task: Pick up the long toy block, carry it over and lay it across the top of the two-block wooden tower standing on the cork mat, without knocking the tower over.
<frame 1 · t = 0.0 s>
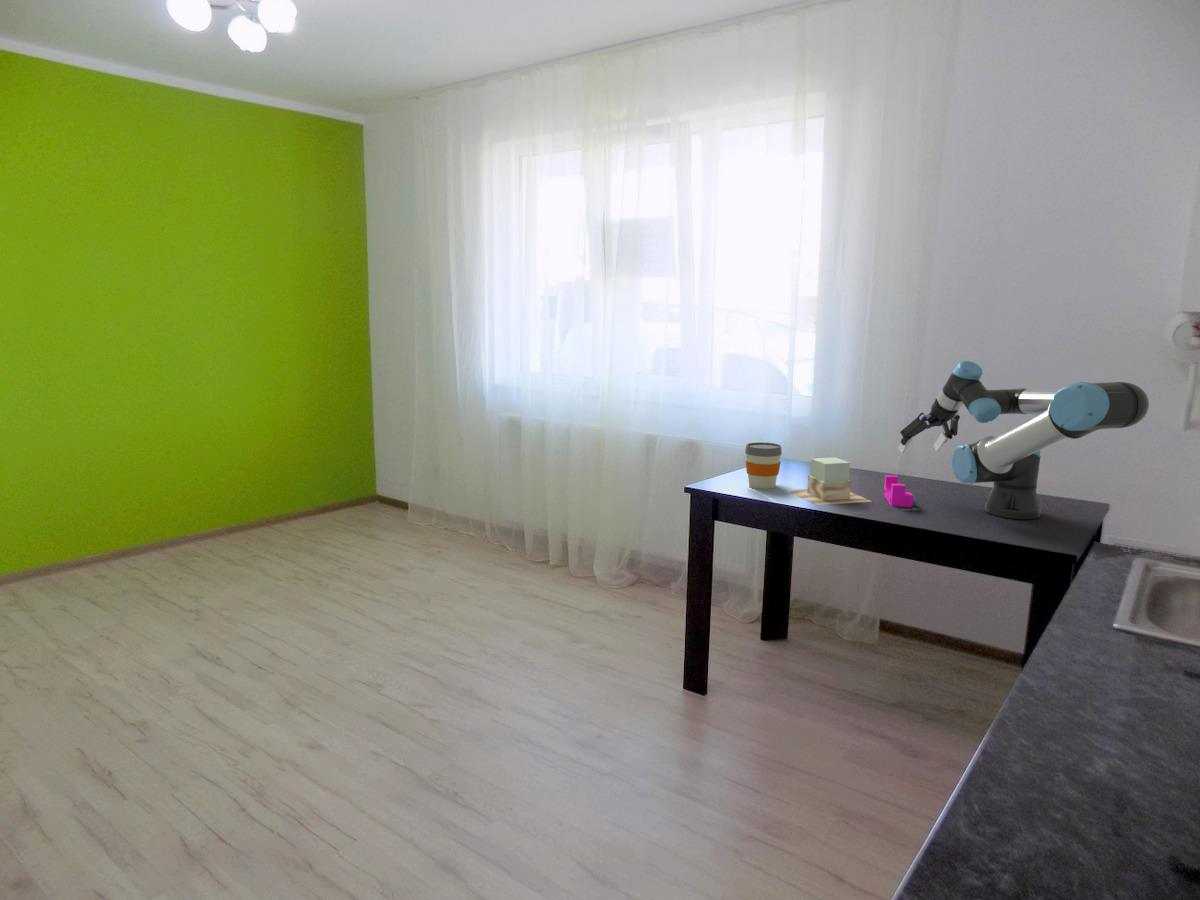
hand: (918, 449, 254), 15 cm above the table, tool tilted 35°, fingers open, 13 cm apart
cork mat: (828, 497, 252), on the table
tower base: (828, 495, 252), point 1 cm above the table, touching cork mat, tower top
toy block: (897, 503, 246), on the table
reusable coffee cup: (761, 487, 267), on the table
tower top: (829, 478, 251), point 7 cm above the table, touching tower base
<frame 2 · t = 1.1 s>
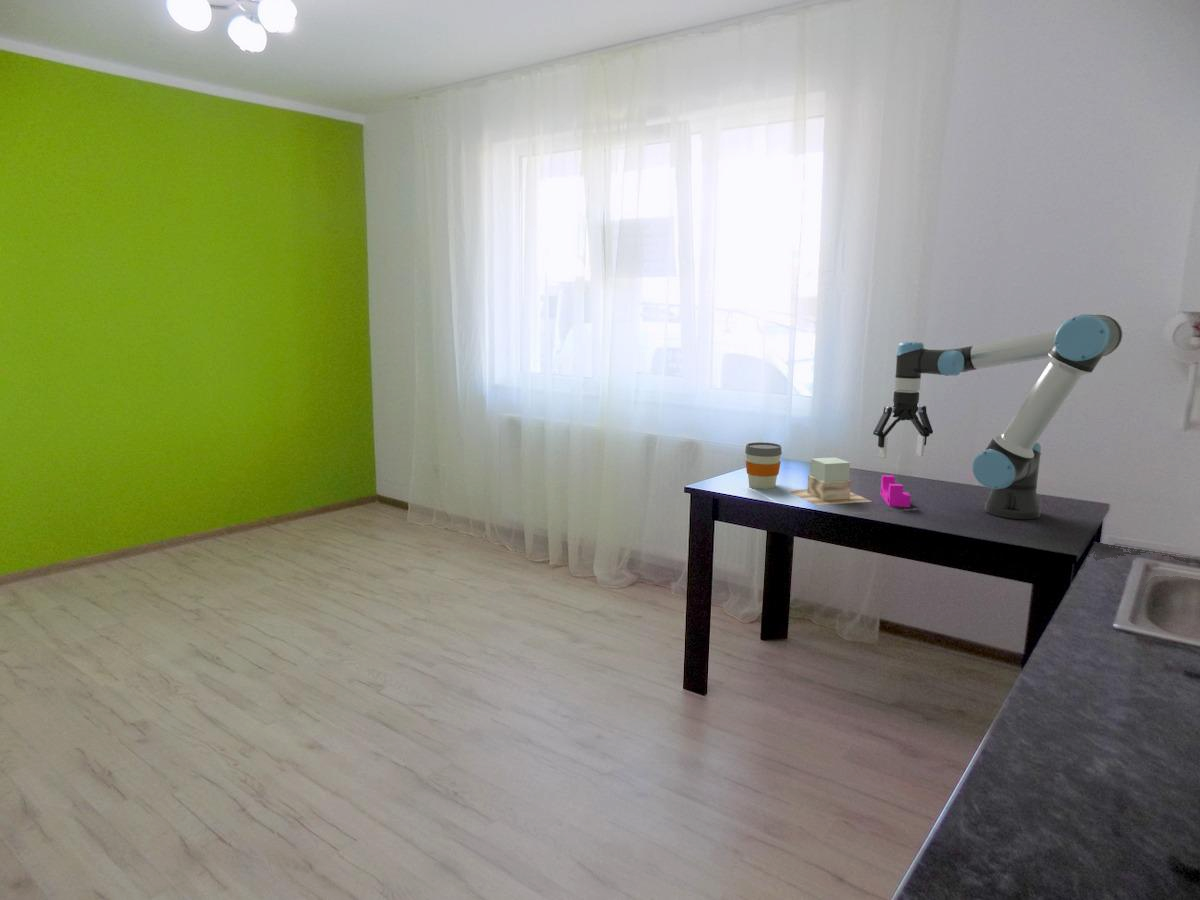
hand: (901, 456, 243), 15 cm above the table, tool pointing down, fingers open, 13 cm apart
toy block: (894, 503, 246), on the table
everything else where it was.
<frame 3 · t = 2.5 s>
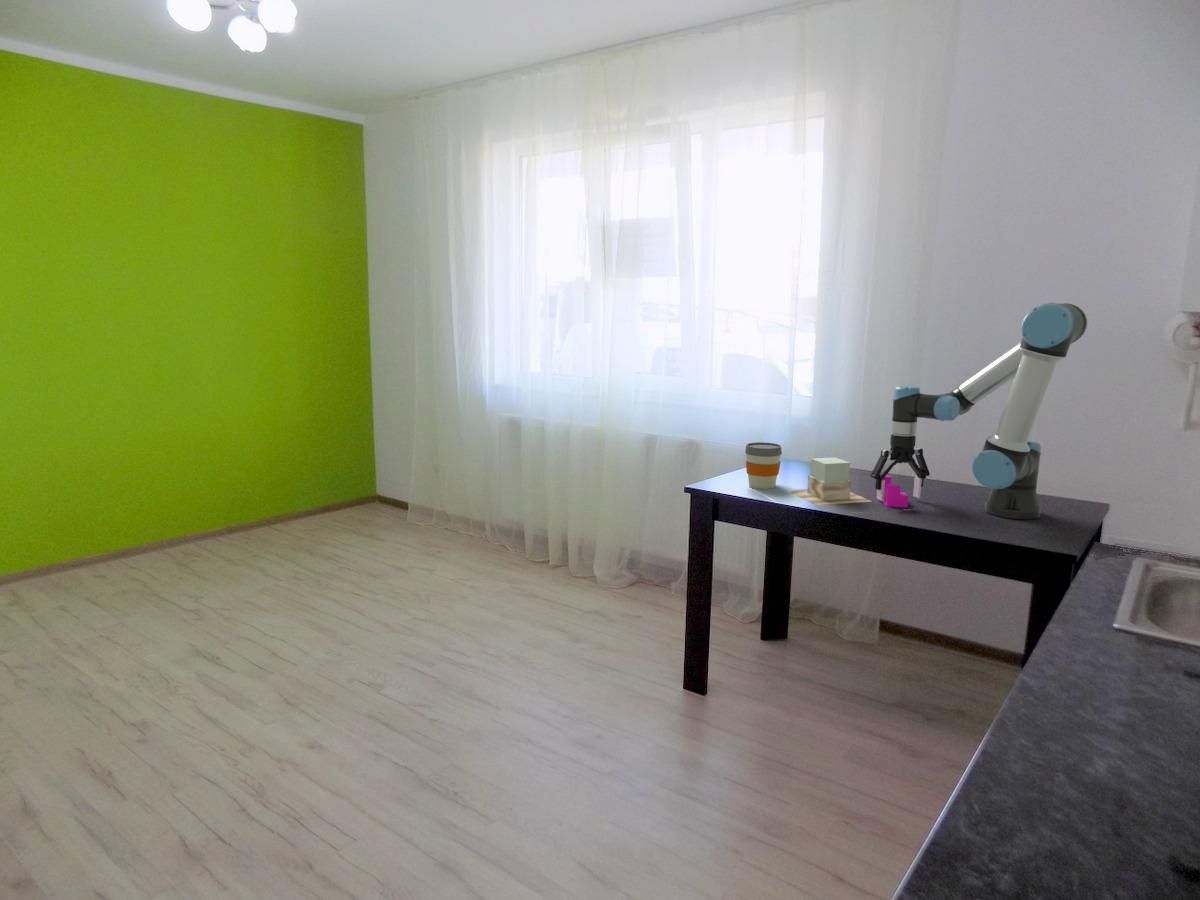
hand: (898, 498, 246), 1 cm above the table, tool pointing down, fingers open, 13 cm apart
toy block: (891, 503, 245), on the table
everything else where it was.
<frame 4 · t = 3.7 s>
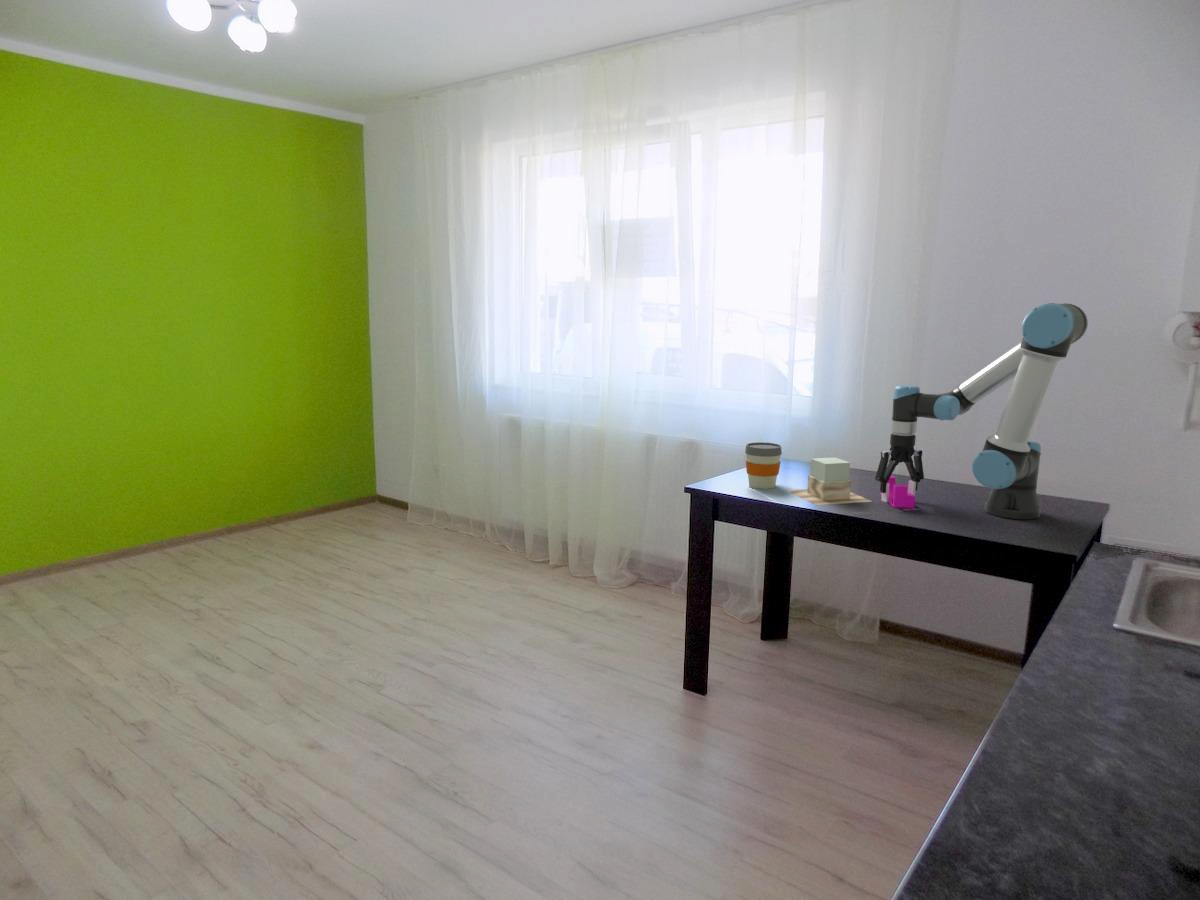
hand: (897, 501, 246), 0 cm above the table, tool pointing down, fingers open, 9 cm apart
toy block: (896, 504, 245), on the table, touching gripper
everything else where it was.
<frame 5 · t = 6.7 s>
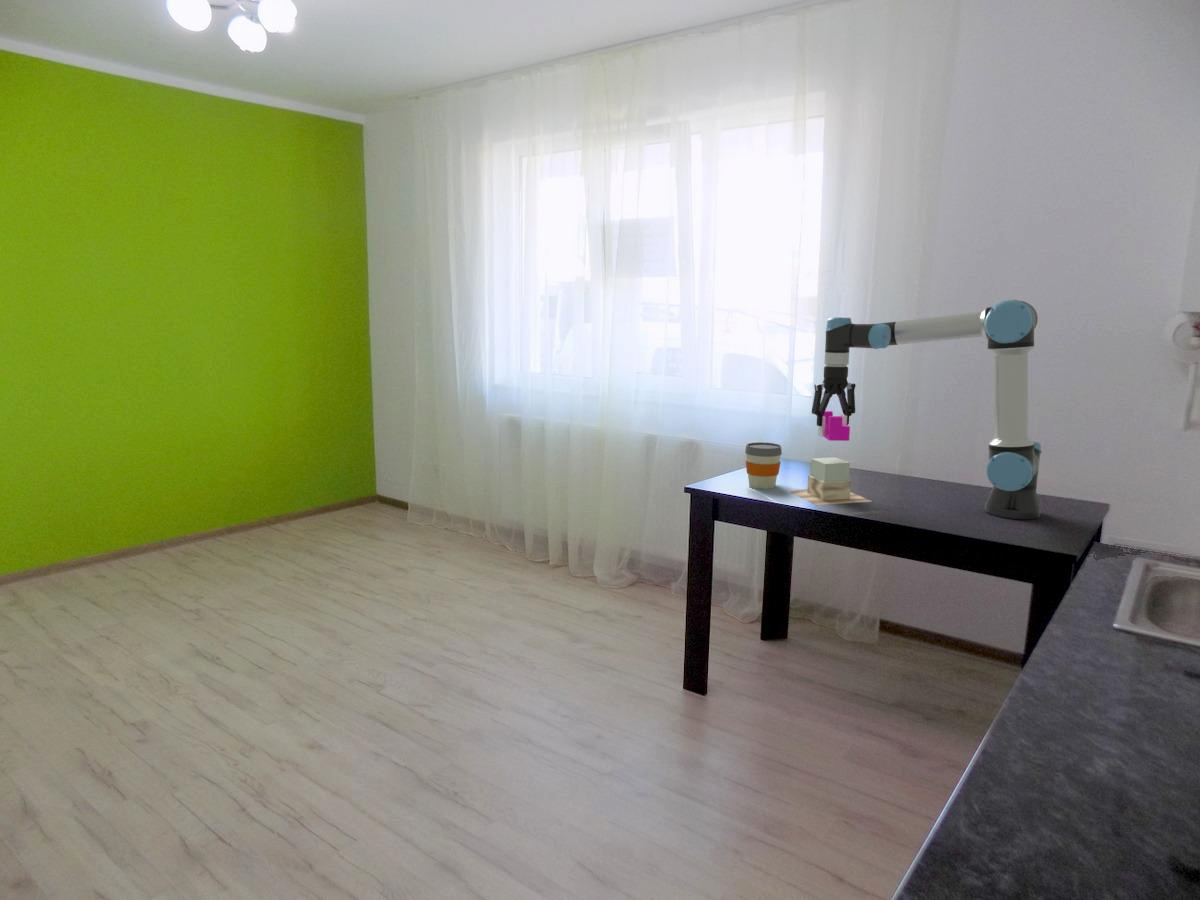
hand: (832, 435, 248), 21 cm above the table, tool pointing down, fingers closed on toy block, 7 cm apart
toy block: (833, 437, 247), point 21 cm above the table, touching gripper
everything else where it was.
when the fingers open (14 cm above the table, at t = 9.2 s): toy block stays where it is, resting on tower top.
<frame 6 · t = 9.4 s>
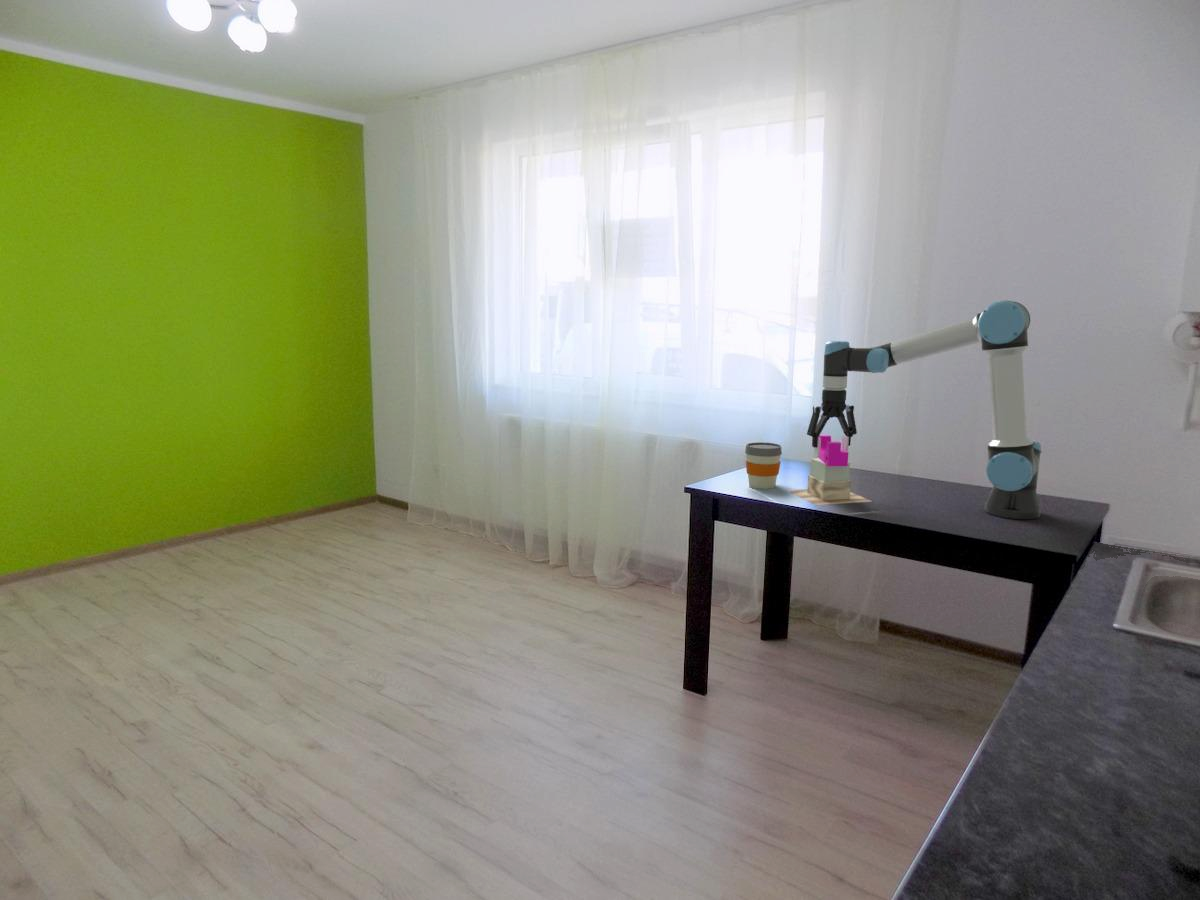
hand: (830, 456, 249), 14 cm above the table, tool pointing down, fingers open, 9 cm apart
toy block: (831, 462, 248), point 12 cm above the table, touching tower top
tower top: (829, 478, 251), point 7 cm above the table, touching tower base, toy block
everything else where it was.
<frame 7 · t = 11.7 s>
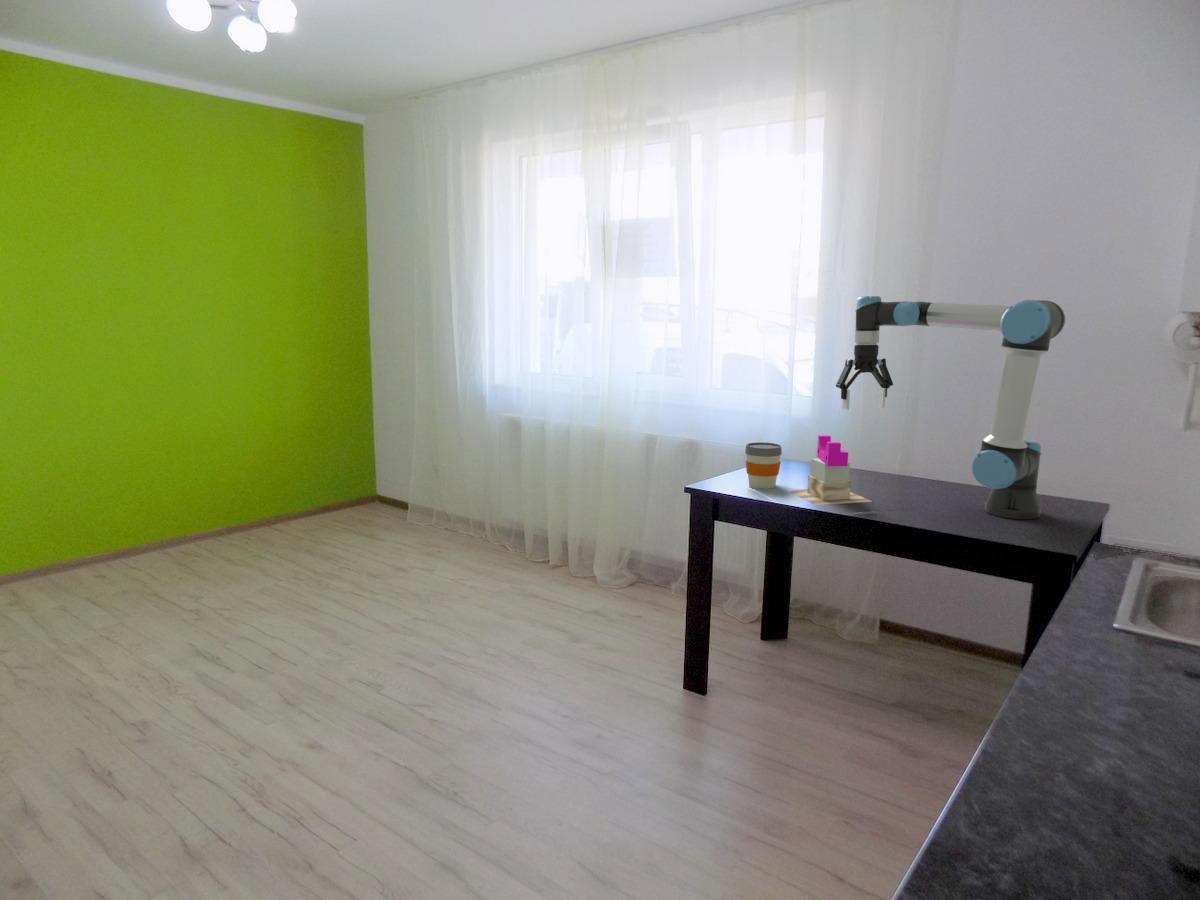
hand: (863, 408, 251), 29 cm above the table, tool pointing down, fingers open, 13 cm apart
nothing on the table moved.
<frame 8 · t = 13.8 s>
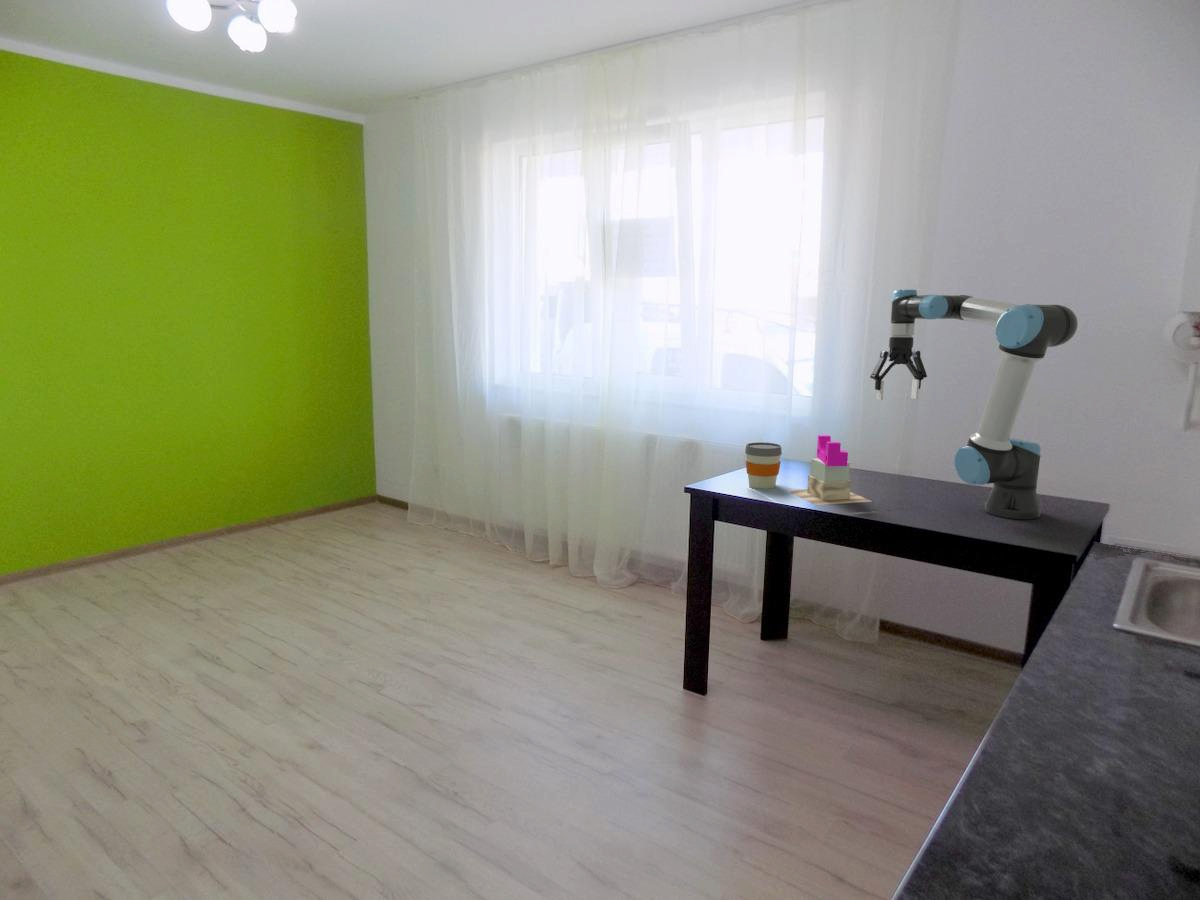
hand: (897, 399, 257), 32 cm above the table, tool pointing down, fingers open, 13 cm apart
nothing on the table moved.
at the end: toy block 1.3 cm from the tower top (horizontally); toy block point 12.4 cm above the table; tower top tilted 0° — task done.
